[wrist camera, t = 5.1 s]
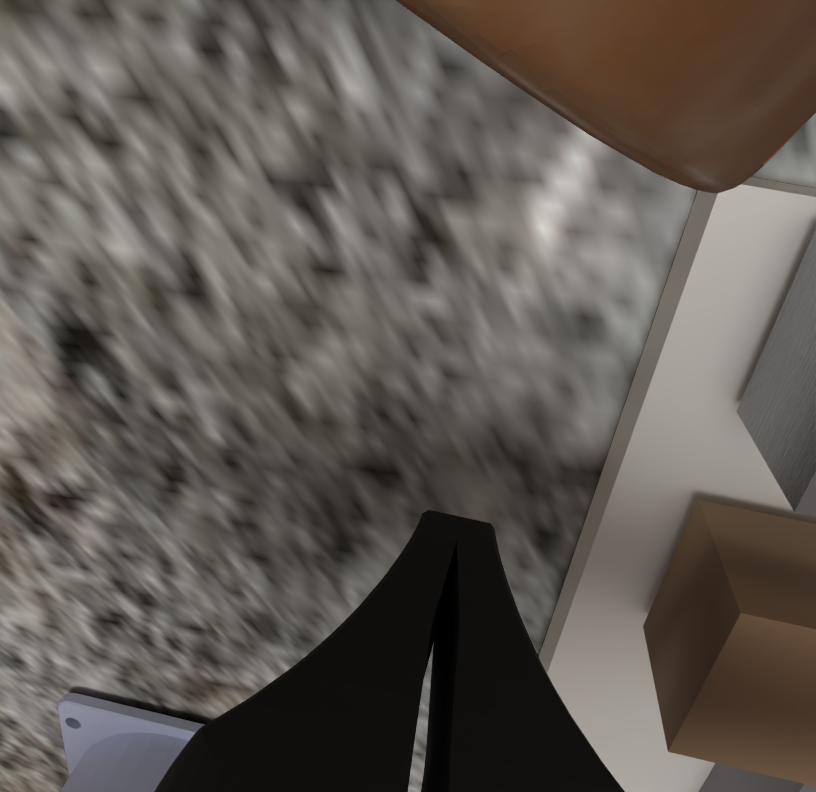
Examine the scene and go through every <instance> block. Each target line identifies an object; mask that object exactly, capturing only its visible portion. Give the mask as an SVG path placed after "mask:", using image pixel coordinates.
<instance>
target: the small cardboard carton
mask: <svg viewBox="0 0 816 792" xmlns="http://www.w3.org/2000/svg"><path fill="white" fill-rule="evenodd" d="M643 629H644V634H645V639H646V644H647V649H648V654H649V659H650V664H651V669H652V674H653V679H654V684H655V689H656V694H657V699H658V704H659V709H660V715H661V720H662V725H663V730H664V735H665V740H666V745H667V750H668V752H671V753H675V754H679V755H684V756H688V757H692V758H696V759H701V760H705V761H709V762H713V763H718V764H722V765H726V766H730V767H735V768H739V769H743V770H747V771H752V772H756V773H760V774H764V775H769V776H773V777H777V778H781V779H786V780H790V781H794V782H798V783H803V784H807V785H811V786H815V787H816V524H814V523H809V522H805V521H800V520H795V519H790V518H785V517H780V516H776V515H771V514H766V513H761V512H756V511H752V510H747V509H742V508H737V507H732V506H727V505H723V504H718V503H713V502H708V501H703V500H699V499H698V501H697V503H696V505H695V508H694V510H693V512H692V515H691V517H690V519H689V522H688V524H687V526H686V528H685V531H684V533H683V535H682V538H681V540H680V542H679V544H678V547H677V549H676V551H675V554H674V556H673V558H672V561H671V563H670V565H669V567H668V570H667V572H666V574H665V577H664V579H663V581H662V584H661V586H660V588H659V590H658V593H657V595H656V597H655V600H654V602H653V604H652V607H651V609H650V611H649V613H648V616H647V618H646V620H645V623H644V625H643Z"/></svg>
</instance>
